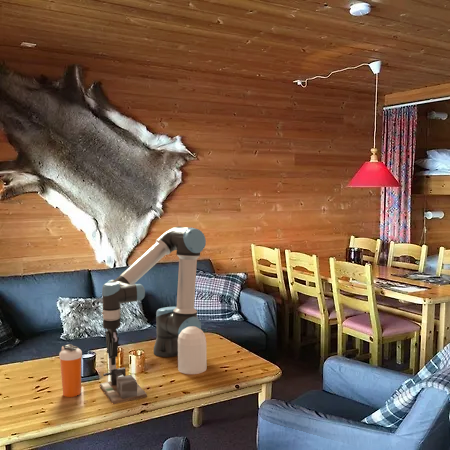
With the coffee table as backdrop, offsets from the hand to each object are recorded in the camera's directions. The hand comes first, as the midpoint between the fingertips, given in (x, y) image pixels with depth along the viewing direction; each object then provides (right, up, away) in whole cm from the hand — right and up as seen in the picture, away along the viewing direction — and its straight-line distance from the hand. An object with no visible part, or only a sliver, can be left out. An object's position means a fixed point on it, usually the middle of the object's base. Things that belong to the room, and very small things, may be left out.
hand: (112, 371), depth 222 cm
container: (+34, -3, +13) cm, 37 cm away
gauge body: (+7, -5, -12) cm, 15 cm away
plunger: (+4, -3, -11) cm, 12 cm away
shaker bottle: (-14, -6, -14) cm, 20 cm away
